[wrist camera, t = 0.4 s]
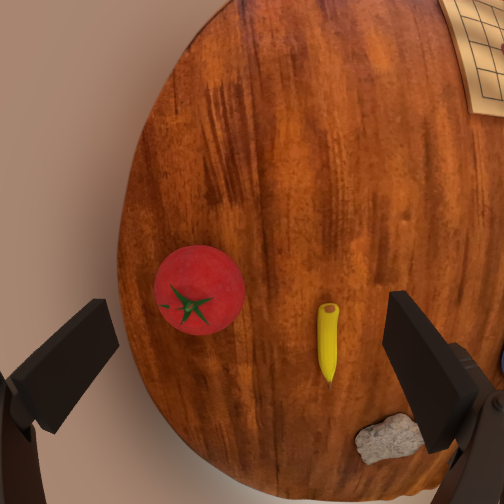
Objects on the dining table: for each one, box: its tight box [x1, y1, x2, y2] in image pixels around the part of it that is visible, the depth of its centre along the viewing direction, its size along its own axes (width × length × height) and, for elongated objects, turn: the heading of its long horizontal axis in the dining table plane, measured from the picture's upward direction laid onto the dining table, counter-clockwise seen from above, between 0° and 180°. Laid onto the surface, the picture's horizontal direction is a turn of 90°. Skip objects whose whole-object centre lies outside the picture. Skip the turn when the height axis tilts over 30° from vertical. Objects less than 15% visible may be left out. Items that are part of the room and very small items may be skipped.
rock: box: [355, 413, 424, 465], centre depth 37 cm, size 14×4×15 cm
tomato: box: [154, 245, 245, 335], centre depth 28 cm, size 9×9×8 cm
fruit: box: [317, 303, 339, 389], centre depth 30 cm, size 10×2×5 cm, turn 7°
